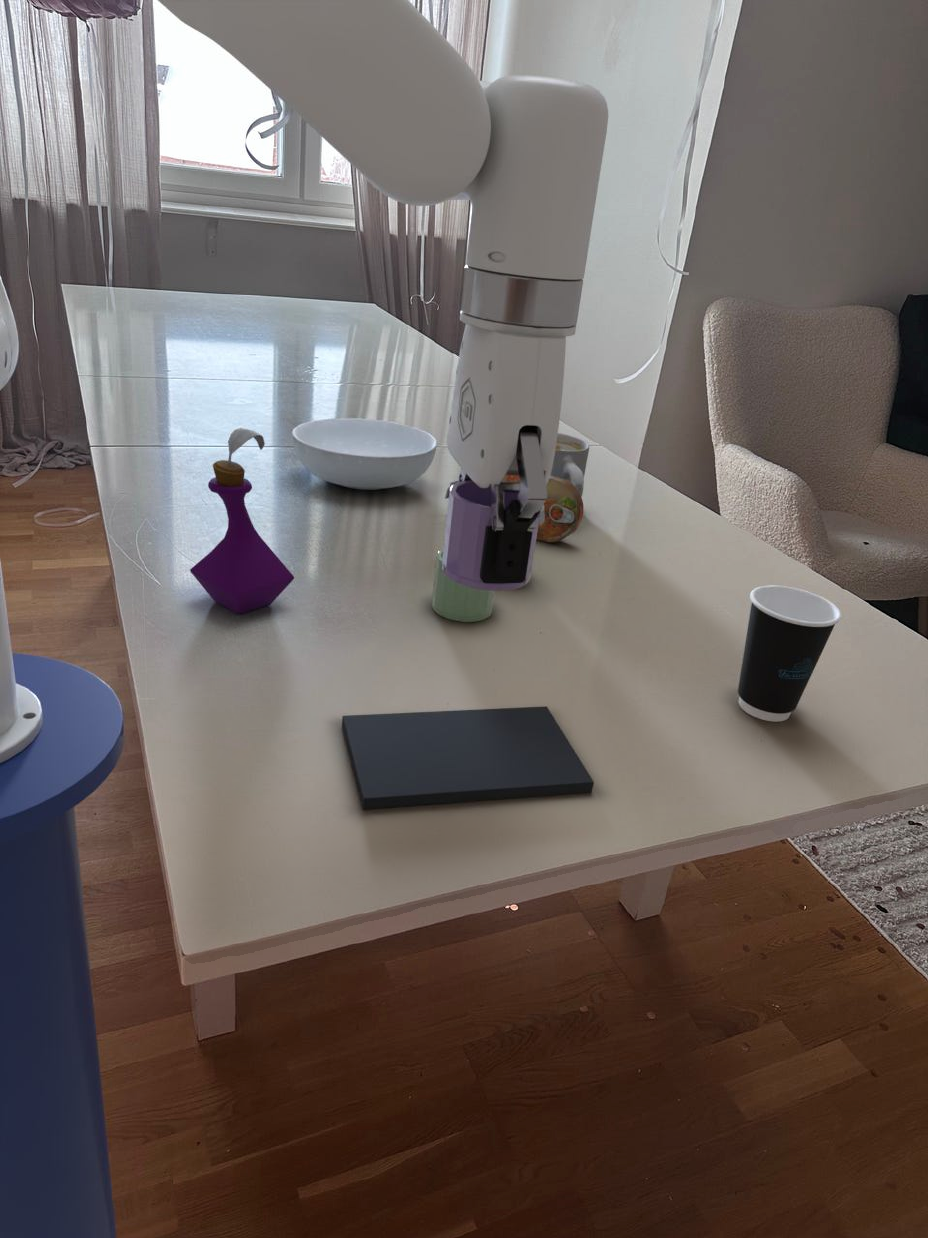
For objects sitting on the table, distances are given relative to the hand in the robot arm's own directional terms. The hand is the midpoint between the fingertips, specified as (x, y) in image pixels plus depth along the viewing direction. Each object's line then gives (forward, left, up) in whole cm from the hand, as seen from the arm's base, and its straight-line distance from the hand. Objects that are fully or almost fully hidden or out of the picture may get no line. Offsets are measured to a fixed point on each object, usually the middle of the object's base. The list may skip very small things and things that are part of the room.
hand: (487, 558), depth 65 cm
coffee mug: (+28, +57, -17) cm, 66 cm away
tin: (+22, +49, -17) cm, 57 cm away
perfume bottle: (-16, +28, -17) cm, 37 cm away
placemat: (0, -1, -17) cm, 17 cm away
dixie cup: (+31, +4, -17) cm, 36 cm away
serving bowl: (+3, +69, -17) cm, 71 cm away
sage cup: (+7, +26, -17) cm, 32 cm away
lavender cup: (0, 0, -1) cm, 1 cm away
